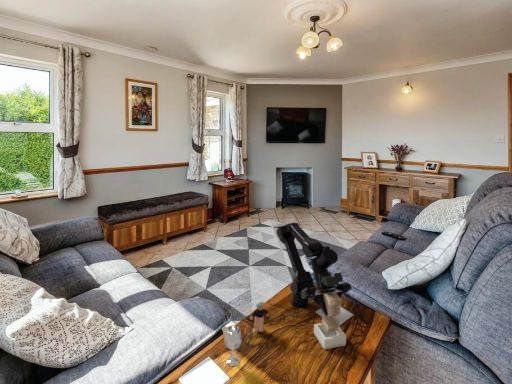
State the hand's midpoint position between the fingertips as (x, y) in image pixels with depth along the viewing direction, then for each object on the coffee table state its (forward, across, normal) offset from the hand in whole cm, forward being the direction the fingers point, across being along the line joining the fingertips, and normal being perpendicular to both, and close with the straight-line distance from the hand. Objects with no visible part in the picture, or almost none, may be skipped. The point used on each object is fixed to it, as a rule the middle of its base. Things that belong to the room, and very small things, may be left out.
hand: (333, 314), depth 104 cm
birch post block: (+4, 0, +6) cm, 7 cm away
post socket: (+7, 0, +9) cm, 11 cm away
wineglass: (+9, -37, +8) cm, 39 cm away
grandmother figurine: (0, -24, +17) cm, 29 cm away
